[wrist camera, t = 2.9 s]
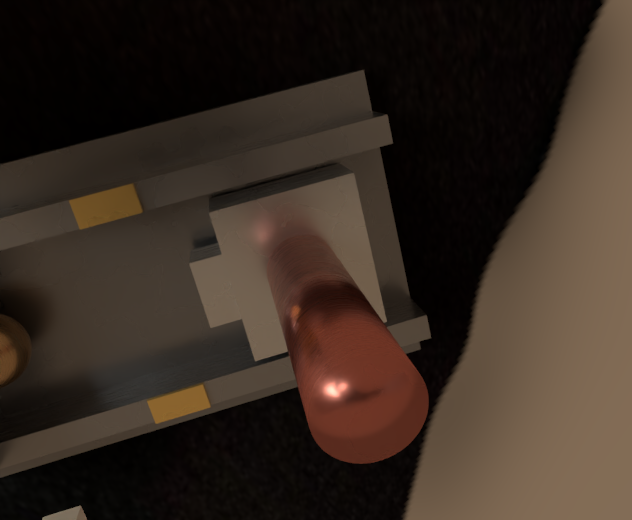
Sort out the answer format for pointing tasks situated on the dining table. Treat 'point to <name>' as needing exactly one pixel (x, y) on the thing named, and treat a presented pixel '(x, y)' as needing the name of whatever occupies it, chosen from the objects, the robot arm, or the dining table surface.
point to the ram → (314, 307)
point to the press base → (161, 266)
